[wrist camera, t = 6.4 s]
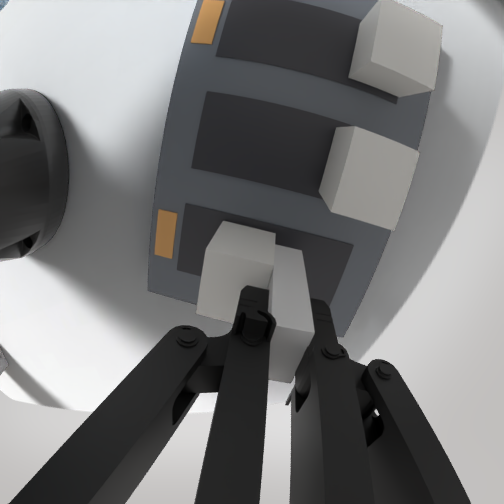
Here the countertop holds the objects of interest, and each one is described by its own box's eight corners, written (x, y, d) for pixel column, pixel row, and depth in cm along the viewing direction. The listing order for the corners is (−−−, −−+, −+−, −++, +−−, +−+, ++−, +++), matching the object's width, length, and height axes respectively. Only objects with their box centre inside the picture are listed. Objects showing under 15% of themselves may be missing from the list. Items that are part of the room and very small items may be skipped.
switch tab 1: (212, 275, 17) (195, 313, 14) (223, 220, 16) (205, 248, 12) (260, 287, 17) (255, 328, 14) (275, 233, 16) (273, 265, 12)
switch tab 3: (318, 191, 15) (330, 211, 11) (336, 127, 13) (355, 126, 10) (369, 206, 15) (394, 231, 11) (387, 145, 13) (420, 152, 10)
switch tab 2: (348, 77, 12) (370, 61, 8) (359, 23, 11) (382, -5, 7) (399, 97, 12) (434, 90, 8) (409, 44, 11) (442, 25, 7)
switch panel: (157, 276, 21) (147, 291, 19) (217, -22, 12) (210, -37, 10) (339, 320, 21) (343, 338, 19) (426, 33, 12) (440, 26, 10)
